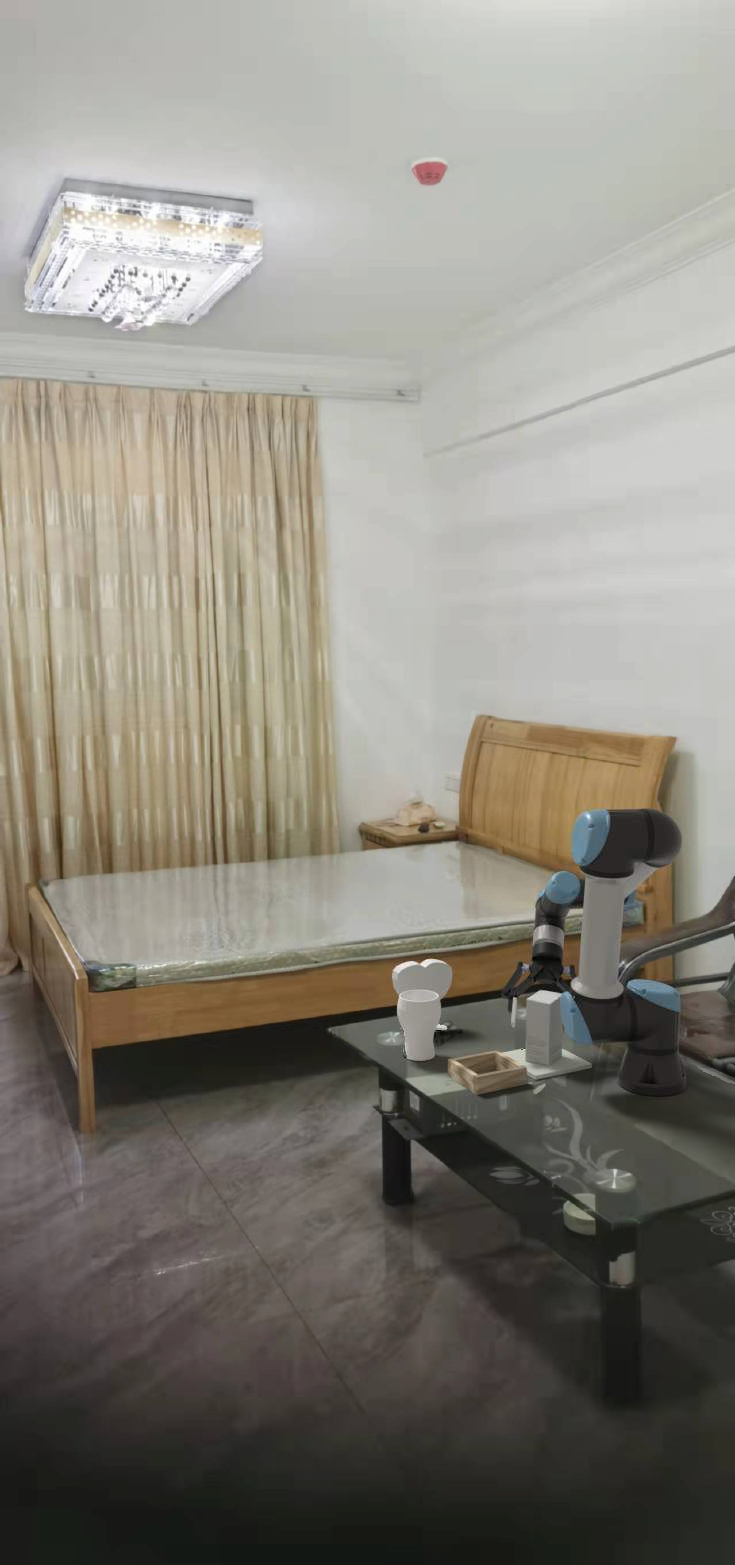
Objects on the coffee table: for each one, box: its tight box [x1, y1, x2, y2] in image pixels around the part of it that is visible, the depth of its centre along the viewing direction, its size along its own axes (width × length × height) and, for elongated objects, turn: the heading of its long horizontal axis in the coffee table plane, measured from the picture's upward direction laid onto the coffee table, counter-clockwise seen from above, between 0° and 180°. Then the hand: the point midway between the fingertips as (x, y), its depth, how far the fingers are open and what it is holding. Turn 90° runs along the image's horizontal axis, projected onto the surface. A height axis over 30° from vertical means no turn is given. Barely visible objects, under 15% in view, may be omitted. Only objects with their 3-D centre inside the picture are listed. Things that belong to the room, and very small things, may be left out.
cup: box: [396, 990, 442, 1062], centre depth 283 cm, size 11×11×15 cm
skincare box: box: [525, 989, 564, 1066], centre depth 278 cm, size 8×7×16 cm
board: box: [502, 1048, 593, 1081], centre depth 279 cm, size 16×16×1 cm
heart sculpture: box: [391, 958, 454, 1031], centre depth 302 cm, size 16×5×18 cm, turn 111°
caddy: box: [447, 1049, 528, 1096], centre depth 268 cm, size 12×13×4 cm
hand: (541, 1027), depth 276 cm, fingers open, 13 cm apart
